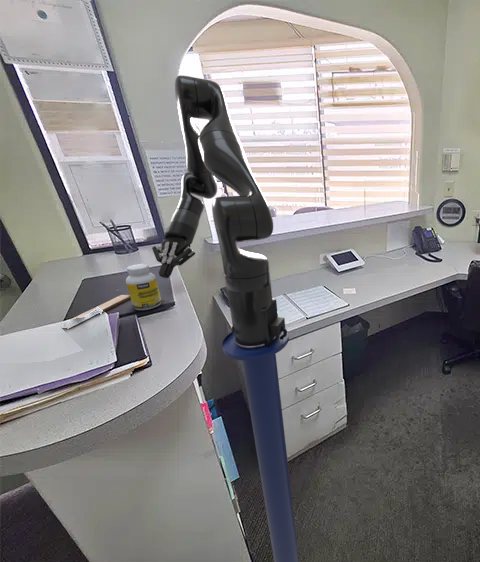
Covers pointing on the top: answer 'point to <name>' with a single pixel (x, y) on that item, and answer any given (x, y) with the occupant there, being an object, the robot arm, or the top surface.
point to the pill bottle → (142, 287)
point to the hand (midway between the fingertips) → (163, 276)
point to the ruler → (107, 305)
